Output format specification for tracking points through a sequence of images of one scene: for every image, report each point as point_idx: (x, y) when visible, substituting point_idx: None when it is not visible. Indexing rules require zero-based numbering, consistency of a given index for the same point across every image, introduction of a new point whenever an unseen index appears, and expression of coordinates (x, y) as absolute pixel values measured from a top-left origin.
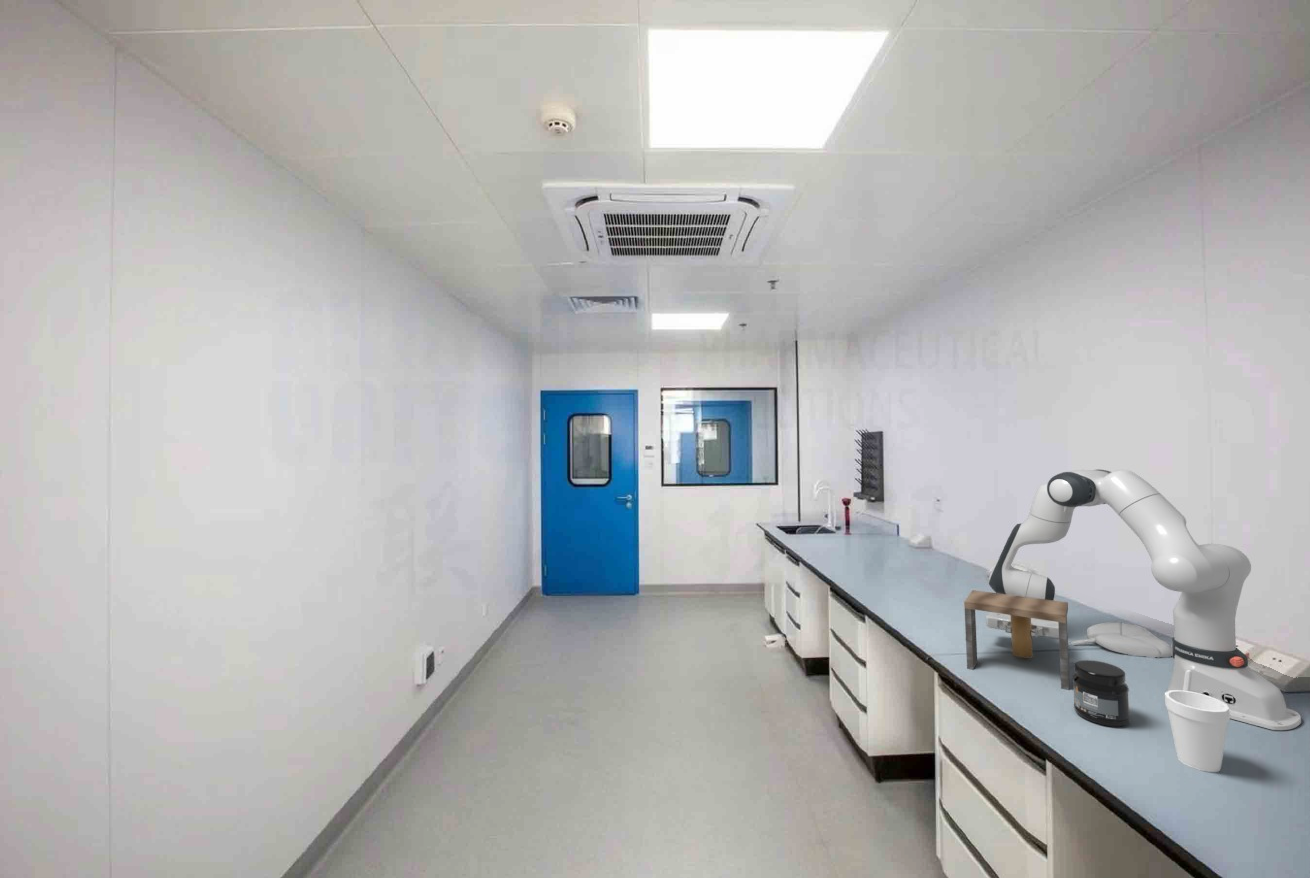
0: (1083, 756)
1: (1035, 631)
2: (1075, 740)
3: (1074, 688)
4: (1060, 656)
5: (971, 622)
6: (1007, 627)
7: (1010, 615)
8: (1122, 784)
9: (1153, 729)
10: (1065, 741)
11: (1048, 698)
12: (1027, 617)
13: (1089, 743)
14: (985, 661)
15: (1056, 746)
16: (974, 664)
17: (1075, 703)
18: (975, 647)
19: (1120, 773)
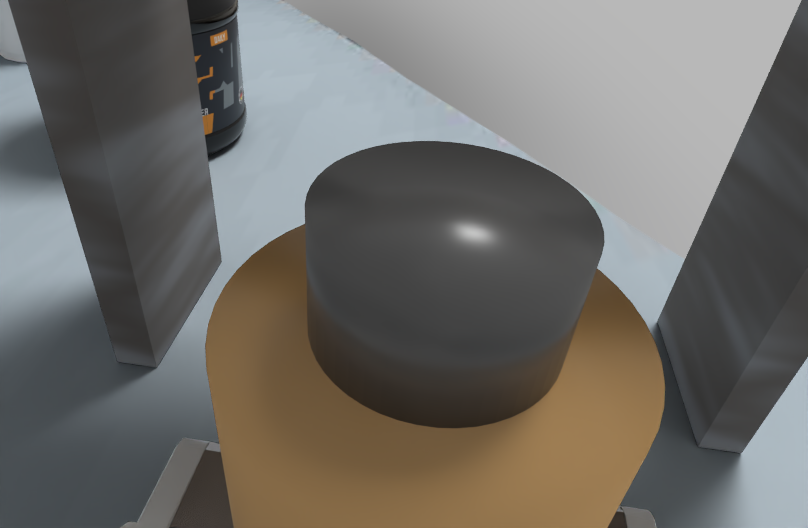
0: (299, 38)
1: (197, 445)
2: (297, 62)
3: (238, 37)
4: (194, 86)
5: (802, 8)
6: (618, 511)
7: (637, 348)
8: (258, 11)
9: (31, 114)
10: (321, 58)
11: (311, 183)
12: (305, 243)
13: (267, 60)
14: (653, 475)
15: (345, 47)
16: (674, 341)
17: (243, 92)
18: (734, 308)
19: (247, 22)
